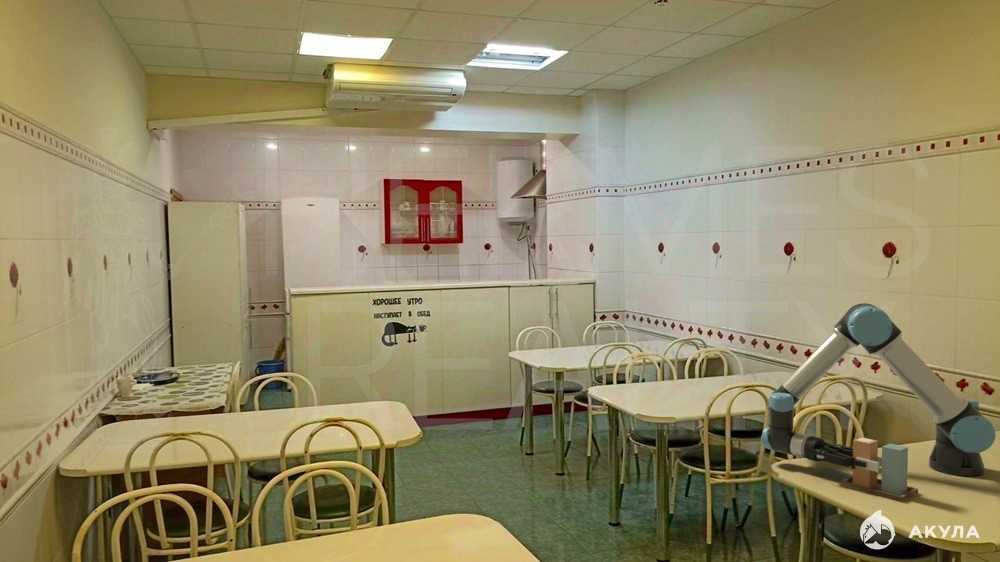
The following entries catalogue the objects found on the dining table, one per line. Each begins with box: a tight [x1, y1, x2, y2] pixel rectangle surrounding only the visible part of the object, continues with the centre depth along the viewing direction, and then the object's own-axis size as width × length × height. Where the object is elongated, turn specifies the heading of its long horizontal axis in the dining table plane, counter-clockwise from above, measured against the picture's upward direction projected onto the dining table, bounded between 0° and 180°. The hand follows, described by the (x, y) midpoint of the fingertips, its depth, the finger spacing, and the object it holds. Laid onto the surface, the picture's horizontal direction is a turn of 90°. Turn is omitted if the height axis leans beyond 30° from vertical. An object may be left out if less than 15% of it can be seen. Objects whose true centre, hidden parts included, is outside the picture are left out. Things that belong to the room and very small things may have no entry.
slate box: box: [881, 443, 909, 496], centre depth 206 cm, size 5×5×14 cm
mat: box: [809, 467, 853, 484], centre depth 223 cm, size 10×10×1 cm
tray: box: [839, 476, 919, 503], centre depth 210 cm, size 11×18×2 cm, turn 37°
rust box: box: [852, 436, 879, 488], centre depth 213 cm, size 5×5×14 cm
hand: (883, 465), depth 209 cm, fingers closed on rust box, 5 cm apart
